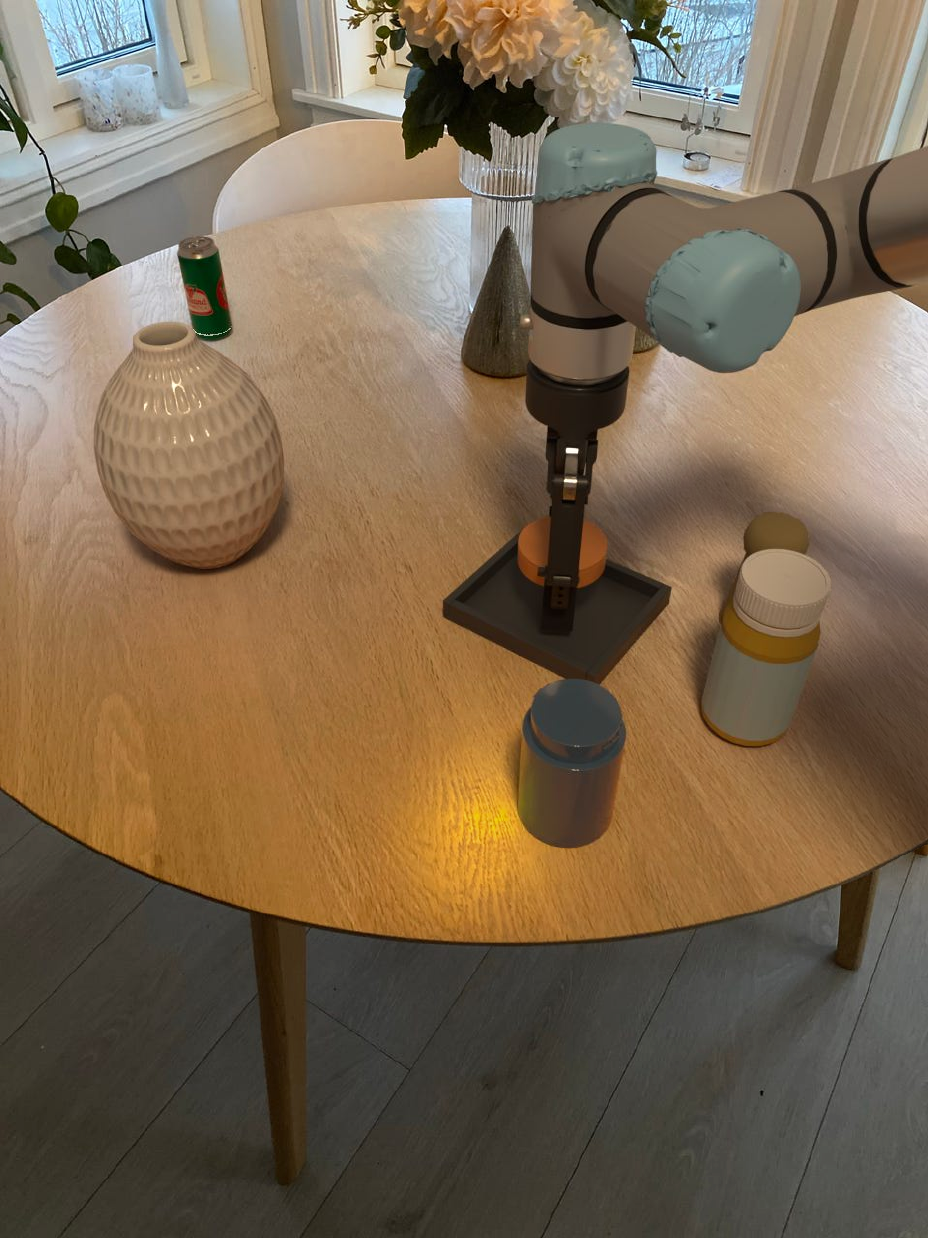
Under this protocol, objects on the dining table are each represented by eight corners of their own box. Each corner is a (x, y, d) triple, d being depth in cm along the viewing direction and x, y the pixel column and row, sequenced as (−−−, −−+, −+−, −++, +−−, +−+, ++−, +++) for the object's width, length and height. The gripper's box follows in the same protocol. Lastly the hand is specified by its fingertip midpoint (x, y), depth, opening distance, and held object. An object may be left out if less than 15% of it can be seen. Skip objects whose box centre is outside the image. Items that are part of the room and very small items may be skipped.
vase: (91, 577, 90) (15, 360, 75) (188, 483, 101) (139, 278, 86) (240, 620, 86) (192, 400, 70) (325, 518, 97) (299, 308, 81)
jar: (629, 799, 71) (648, 702, 64) (580, 865, 67) (595, 770, 60) (550, 755, 74) (559, 658, 67) (499, 816, 70) (502, 720, 63)
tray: (669, 603, 87) (672, 586, 86) (593, 692, 79) (595, 676, 78) (526, 540, 94) (527, 524, 93) (442, 616, 86) (442, 600, 85)
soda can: (186, 335, 125) (166, 244, 117) (214, 321, 128) (196, 231, 120) (213, 346, 123) (195, 254, 115) (241, 331, 126) (225, 240, 118)
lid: (499, 567, 82) (500, 548, 81) (547, 523, 87) (548, 504, 85) (576, 602, 79) (578, 582, 77) (621, 554, 83) (623, 535, 82)
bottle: (782, 761, 74) (833, 619, 64) (692, 737, 76) (727, 595, 66) (792, 698, 79) (841, 557, 69) (707, 677, 81) (742, 536, 70)
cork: (784, 652, 83) (816, 553, 75) (714, 636, 84) (738, 537, 77) (790, 607, 87) (821, 509, 79) (723, 593, 88) (747, 495, 81)
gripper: (534, 297, 78) (523, 523, 93) (517, 433, 63) (508, 675, 78) (627, 301, 77) (601, 528, 92) (633, 440, 62) (600, 682, 78)
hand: (558, 595), depth 85 cm, fingers closed on lid, 8 cm apart
